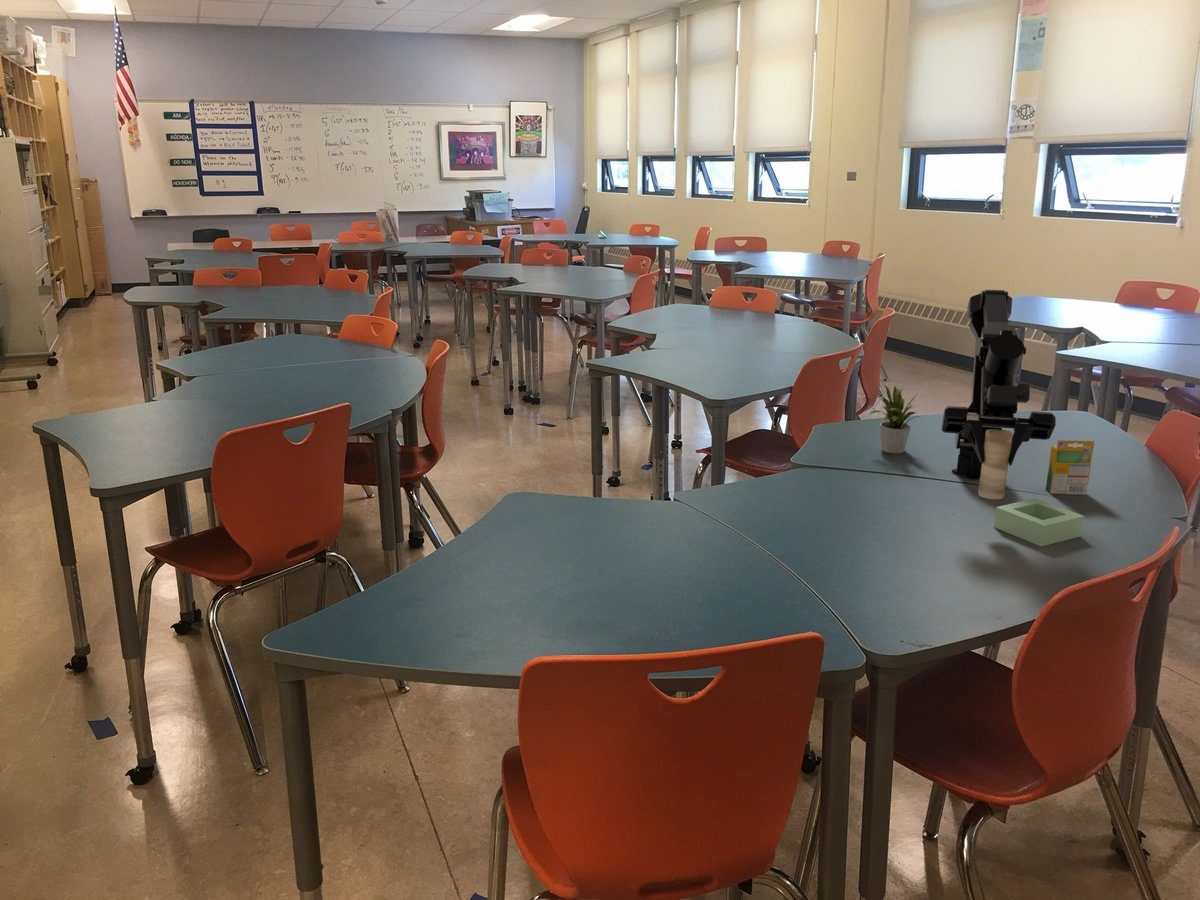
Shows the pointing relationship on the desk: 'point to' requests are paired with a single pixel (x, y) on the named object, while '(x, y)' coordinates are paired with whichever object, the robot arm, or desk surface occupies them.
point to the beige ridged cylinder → (995, 464)
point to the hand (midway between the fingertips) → (996, 463)
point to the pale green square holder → (1038, 522)
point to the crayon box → (1069, 468)
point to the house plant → (894, 422)
